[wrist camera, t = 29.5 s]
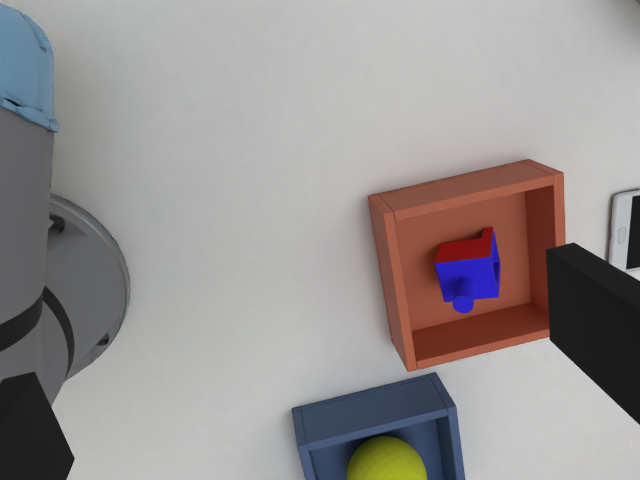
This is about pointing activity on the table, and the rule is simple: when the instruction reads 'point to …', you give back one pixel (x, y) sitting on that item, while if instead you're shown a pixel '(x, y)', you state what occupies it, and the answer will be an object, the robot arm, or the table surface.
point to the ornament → (385, 461)
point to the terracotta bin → (463, 224)
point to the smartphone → (625, 231)
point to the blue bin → (381, 428)
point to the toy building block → (469, 270)
